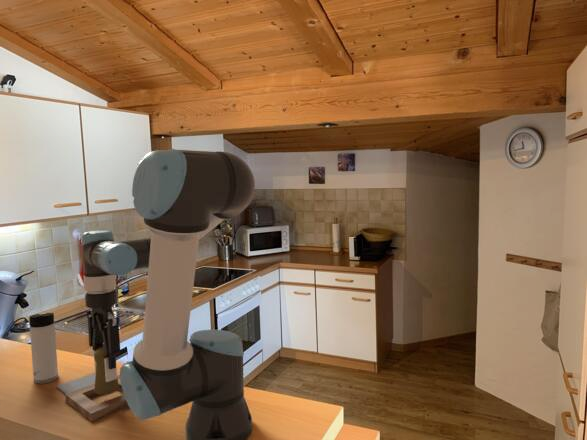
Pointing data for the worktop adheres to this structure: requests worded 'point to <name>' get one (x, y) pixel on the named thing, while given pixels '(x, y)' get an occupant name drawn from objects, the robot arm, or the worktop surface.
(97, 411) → the walnut holder
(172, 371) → the robot arm
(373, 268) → the worktop surface
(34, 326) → the travel mug
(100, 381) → the cork
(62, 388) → the grey mat
